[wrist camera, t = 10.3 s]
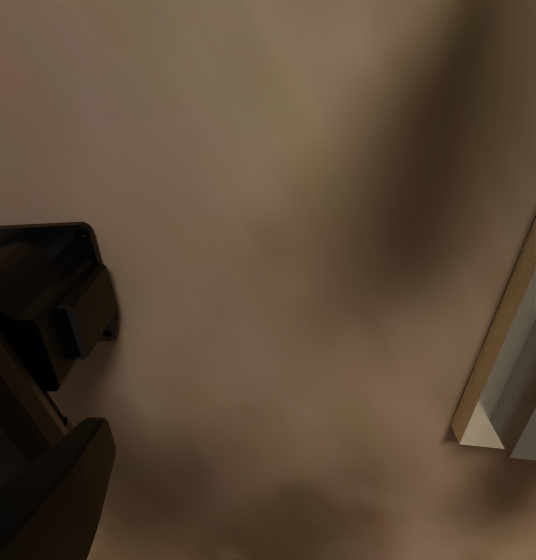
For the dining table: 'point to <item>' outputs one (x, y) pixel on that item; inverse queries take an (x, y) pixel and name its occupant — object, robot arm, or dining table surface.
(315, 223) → the dining table surface
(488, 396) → the white base plate
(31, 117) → the dining table surface
